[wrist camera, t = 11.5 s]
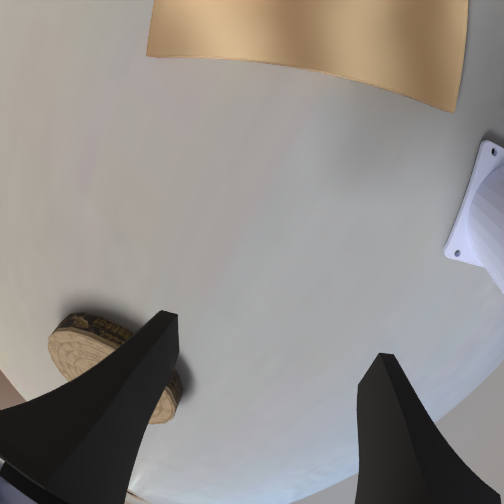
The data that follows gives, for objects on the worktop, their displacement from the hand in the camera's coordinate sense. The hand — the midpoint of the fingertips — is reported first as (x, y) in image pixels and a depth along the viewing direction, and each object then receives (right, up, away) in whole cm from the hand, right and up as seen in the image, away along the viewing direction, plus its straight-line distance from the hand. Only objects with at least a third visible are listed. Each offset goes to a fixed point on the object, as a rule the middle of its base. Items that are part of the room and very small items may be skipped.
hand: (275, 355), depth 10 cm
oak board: (+3, +19, -1) cm, 19 cm away
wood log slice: (-16, -9, +20) cm, 27 cm away
